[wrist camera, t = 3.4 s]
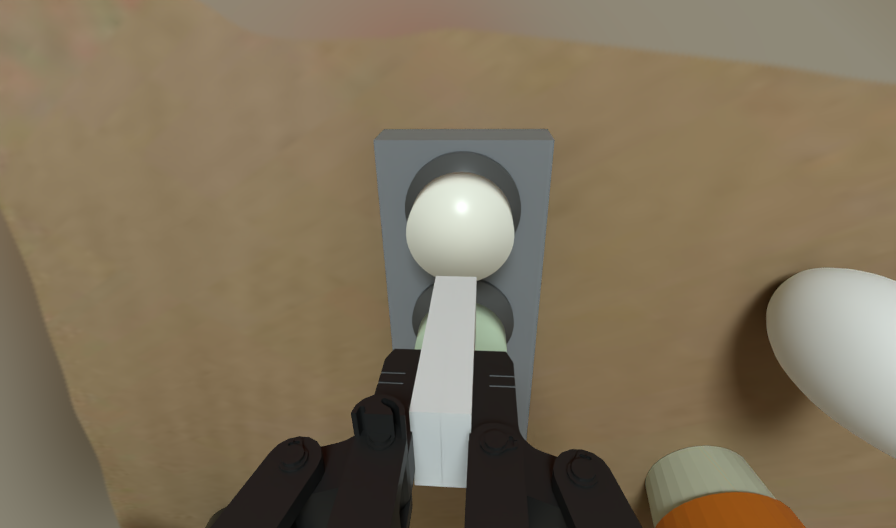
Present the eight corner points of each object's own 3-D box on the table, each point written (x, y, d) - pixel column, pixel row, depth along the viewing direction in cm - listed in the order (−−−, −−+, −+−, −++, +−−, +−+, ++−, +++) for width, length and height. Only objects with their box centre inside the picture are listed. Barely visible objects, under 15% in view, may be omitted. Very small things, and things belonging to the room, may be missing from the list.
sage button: (420, 369, 30) (416, 391, 28) (416, 299, 28) (411, 317, 26) (503, 372, 30) (505, 394, 28) (507, 301, 27) (509, 320, 25)
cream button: (414, 264, 26) (409, 281, 25) (408, 171, 24) (402, 183, 22) (509, 266, 26) (511, 283, 24) (515, 172, 24) (517, 184, 22)
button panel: (406, 412, 39) (400, 445, 36) (383, 129, 28) (371, 142, 25) (522, 416, 38) (526, 451, 35) (547, 129, 27) (555, 142, 24)
